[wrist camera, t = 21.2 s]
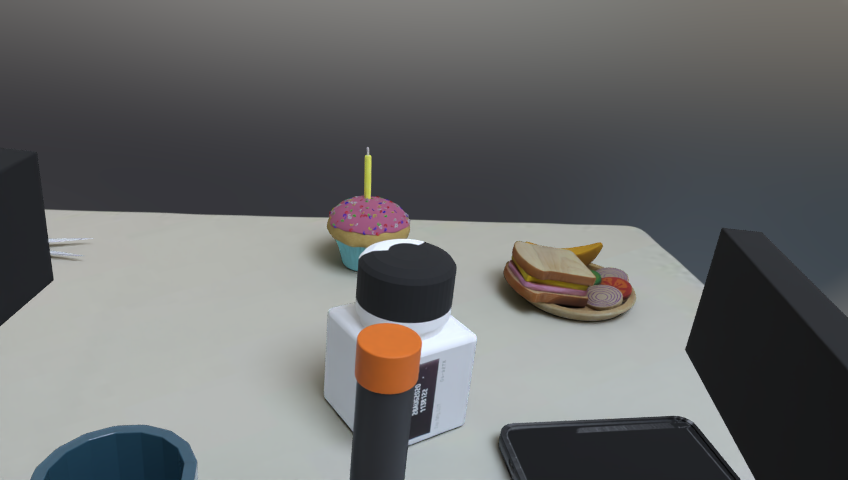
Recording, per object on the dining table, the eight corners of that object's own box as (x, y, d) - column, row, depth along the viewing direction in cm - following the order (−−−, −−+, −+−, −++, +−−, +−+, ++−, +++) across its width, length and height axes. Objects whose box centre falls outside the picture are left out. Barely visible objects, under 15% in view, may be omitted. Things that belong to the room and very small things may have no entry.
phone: (750, 491, 45) (532, 507, 42) (745, 504, 46) (530, 521, 43) (687, 414, 52) (496, 422, 49) (683, 426, 53) (494, 435, 50)
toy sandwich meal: (651, 329, 66) (663, 285, 64) (511, 321, 65) (519, 276, 63) (612, 270, 78) (621, 231, 76) (492, 262, 77) (498, 222, 75)
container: (466, 426, 51) (490, 265, 45) (374, 461, 46) (389, 288, 41) (408, 370, 56) (424, 222, 51) (321, 397, 52) (329, 238, 47)
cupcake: (316, 249, 75) (320, 141, 71) (390, 243, 79) (399, 139, 74) (339, 285, 68) (345, 168, 63) (419, 277, 72) (431, 165, 67)
